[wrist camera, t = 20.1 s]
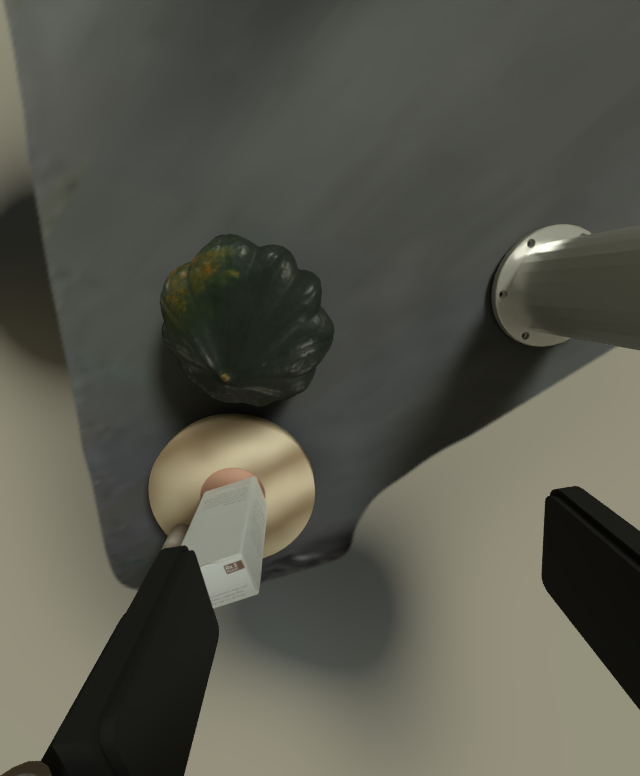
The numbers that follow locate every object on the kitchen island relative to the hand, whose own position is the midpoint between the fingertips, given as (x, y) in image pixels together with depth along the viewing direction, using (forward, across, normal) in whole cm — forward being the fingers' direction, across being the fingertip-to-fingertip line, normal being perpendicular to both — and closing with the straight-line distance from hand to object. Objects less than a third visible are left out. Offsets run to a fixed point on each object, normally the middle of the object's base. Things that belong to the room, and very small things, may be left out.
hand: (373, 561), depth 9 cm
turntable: (+28, +12, +14) cm, 33 cm away
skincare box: (+26, +12, +14) cm, 31 cm away
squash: (+30, +6, -4) cm, 31 cm away
